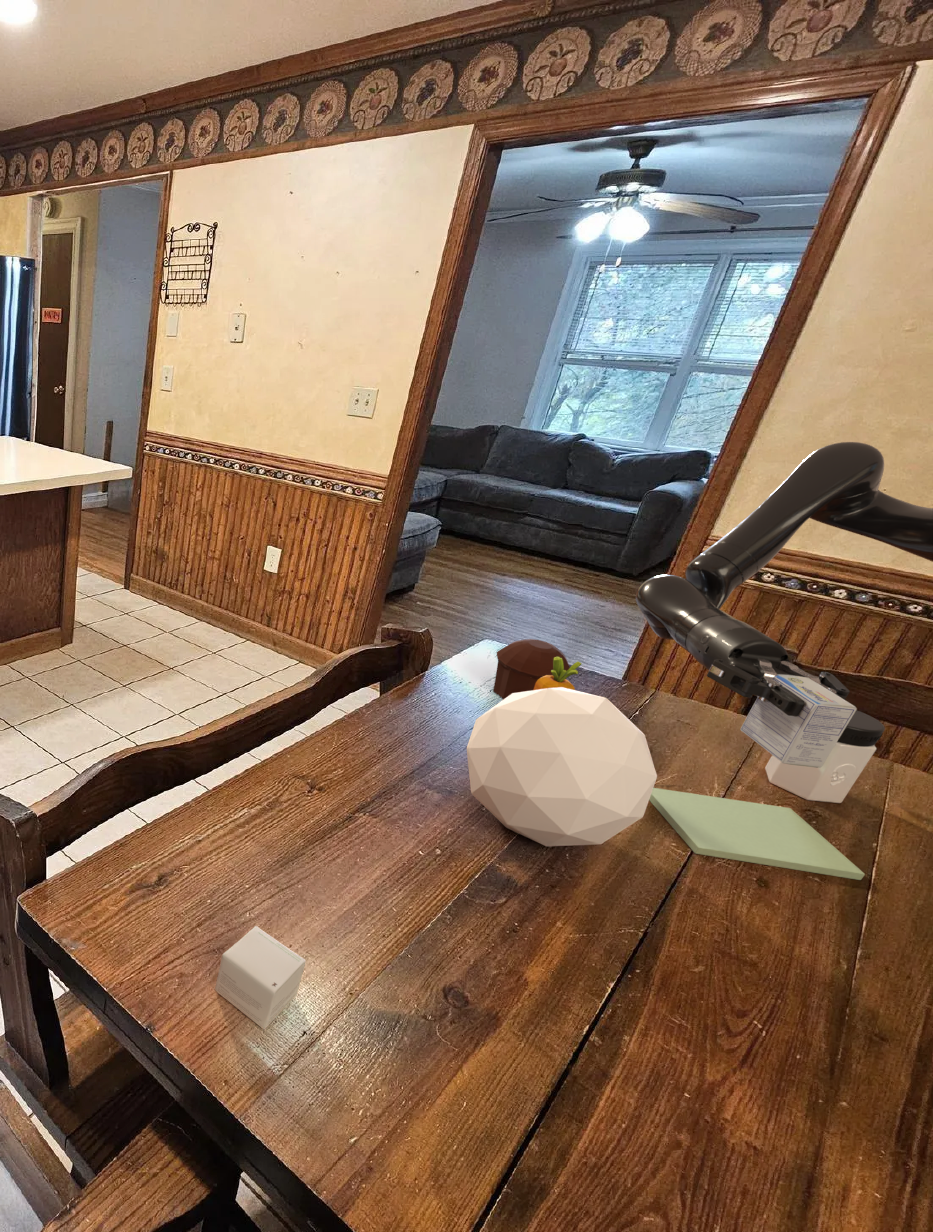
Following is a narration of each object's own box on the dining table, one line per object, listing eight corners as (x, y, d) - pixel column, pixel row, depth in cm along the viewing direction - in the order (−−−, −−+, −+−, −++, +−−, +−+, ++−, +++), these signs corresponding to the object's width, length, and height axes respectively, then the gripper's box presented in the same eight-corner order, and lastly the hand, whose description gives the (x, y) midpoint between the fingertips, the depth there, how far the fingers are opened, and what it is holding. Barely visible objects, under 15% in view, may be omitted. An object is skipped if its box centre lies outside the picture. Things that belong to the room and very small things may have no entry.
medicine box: (821, 769, 86) (860, 708, 83) (780, 764, 87) (817, 703, 83) (775, 734, 93) (809, 676, 90) (737, 730, 94) (769, 672, 90)
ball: (496, 882, 93) (451, 791, 83) (483, 759, 106) (443, 669, 96) (685, 878, 81) (658, 772, 72) (644, 741, 95) (617, 636, 85)
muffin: (501, 674, 133) (518, 625, 128) (567, 699, 125) (588, 647, 121) (473, 692, 126) (491, 640, 121) (542, 719, 118) (564, 665, 114)
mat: (786, 813, 98) (790, 807, 98) (861, 880, 87) (865, 874, 86) (641, 791, 101) (644, 786, 101) (694, 853, 89) (698, 847, 89)
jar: (791, 800, 101) (835, 727, 96) (747, 766, 108) (786, 697, 103) (859, 806, 101) (907, 734, 95) (810, 772, 108) (852, 703, 103)
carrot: (550, 741, 112) (585, 656, 105) (551, 756, 108) (587, 668, 102) (514, 731, 114) (547, 647, 108) (513, 745, 110) (547, 659, 104)
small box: (298, 996, 68) (308, 959, 65) (264, 1033, 64) (274, 995, 62) (247, 958, 71) (255, 922, 69) (212, 991, 68) (220, 954, 65)
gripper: (778, 682, 100) (875, 748, 85) (665, 667, 103) (739, 730, 88) (806, 633, 97) (911, 694, 82) (688, 619, 99) (769, 676, 84)
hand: (822, 712), depth 85 cm, fingers closed on medicine box, 4 cm apart
